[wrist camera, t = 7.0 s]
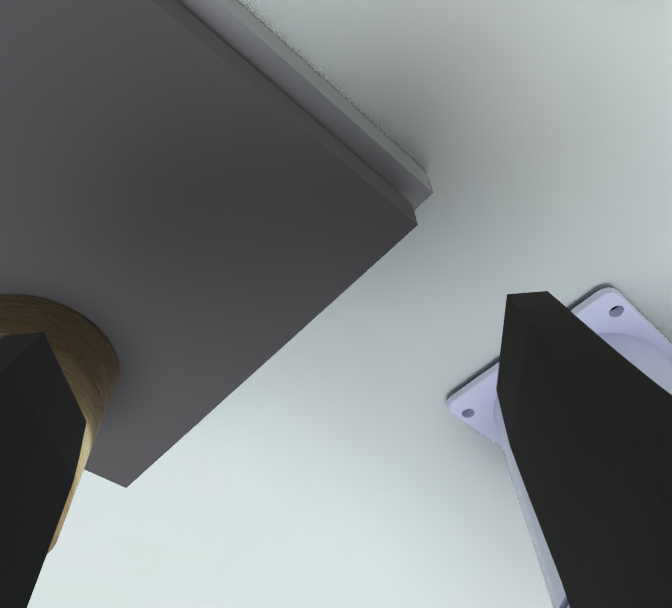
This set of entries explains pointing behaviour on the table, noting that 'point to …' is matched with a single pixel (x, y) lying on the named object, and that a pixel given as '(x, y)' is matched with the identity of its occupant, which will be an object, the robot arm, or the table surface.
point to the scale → (312, 94)
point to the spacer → (68, 363)
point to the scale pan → (171, 207)
